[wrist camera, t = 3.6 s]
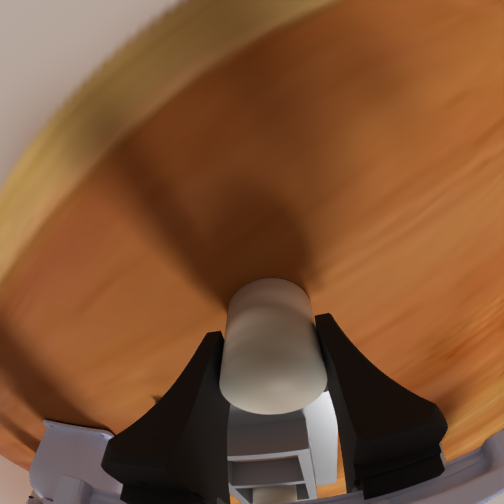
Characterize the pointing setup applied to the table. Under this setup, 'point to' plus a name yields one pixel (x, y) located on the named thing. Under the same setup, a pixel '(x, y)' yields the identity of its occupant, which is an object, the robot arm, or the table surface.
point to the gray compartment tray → (282, 449)
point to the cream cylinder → (271, 349)
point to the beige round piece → (275, 494)
